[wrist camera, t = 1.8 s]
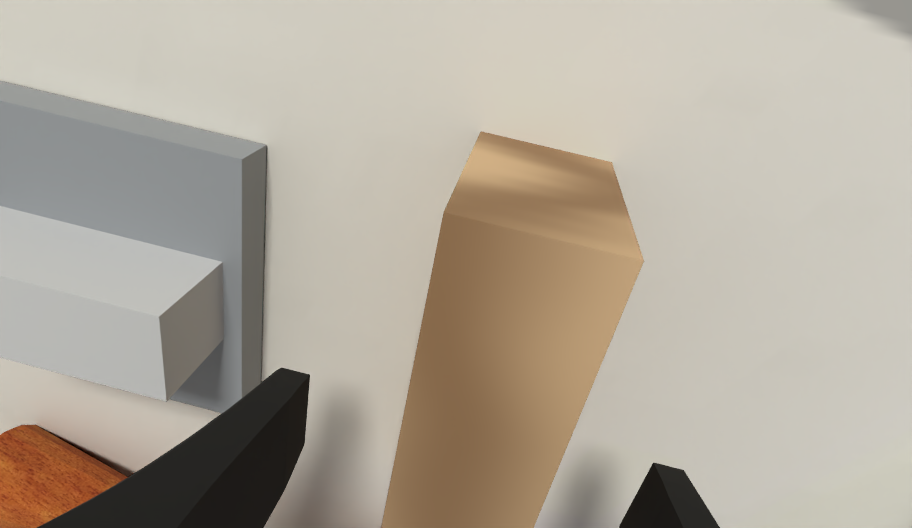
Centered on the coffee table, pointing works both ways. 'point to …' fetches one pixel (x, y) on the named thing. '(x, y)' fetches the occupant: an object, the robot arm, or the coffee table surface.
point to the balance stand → (130, 249)
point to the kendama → (46, 477)
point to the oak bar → (510, 334)
